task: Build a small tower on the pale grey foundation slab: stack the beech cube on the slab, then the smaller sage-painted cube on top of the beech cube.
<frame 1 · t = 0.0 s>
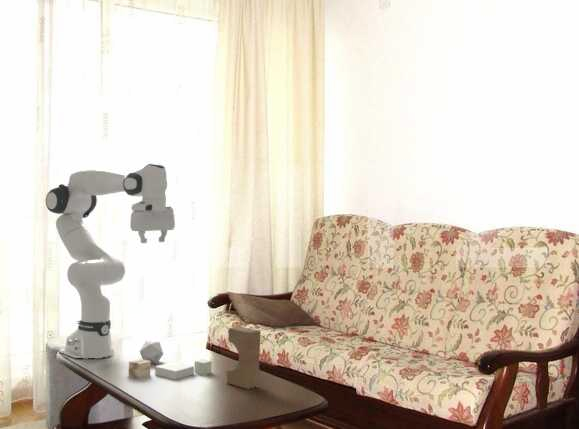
hand: (152, 242, 275), 48 cm above the table, fingers open, 8 cm apart
sage cube: (202, 372, 274), on the table
die: (151, 362, 286), on the table
foundation slab: (174, 374, 270), on the table
beech cube: (139, 376, 266), on the table
decorative block: (242, 385, 259), on the table
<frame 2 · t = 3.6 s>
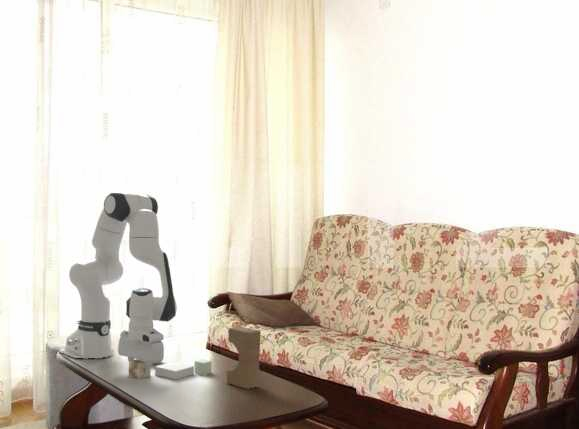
hand: (139, 371, 266), 2 cm above the table, fingers closed on beech cube, 5 cm apart
beech cube: (139, 375, 266), on the table, touching gripper
everything else where it was.
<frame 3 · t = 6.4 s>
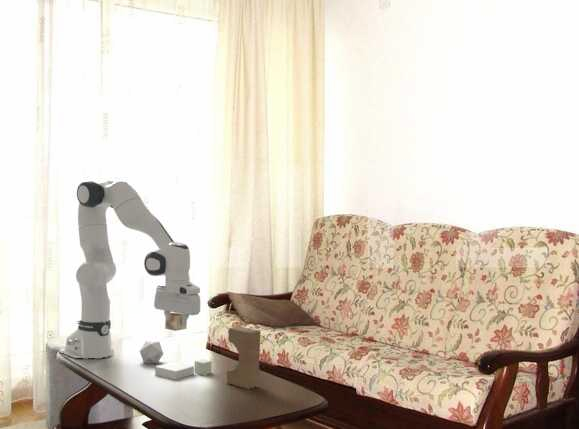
hand: (176, 324, 269), 19 cm above the table, fingers closed on beech cube, 5 cm apart
beech cube: (175, 328, 269), point 17 cm above the table, touching gripper
everything else where it was.
when the fingers open (5 cm above the table, at t = 9.2 s): beech cube stays where it is, resting on foundation slab.
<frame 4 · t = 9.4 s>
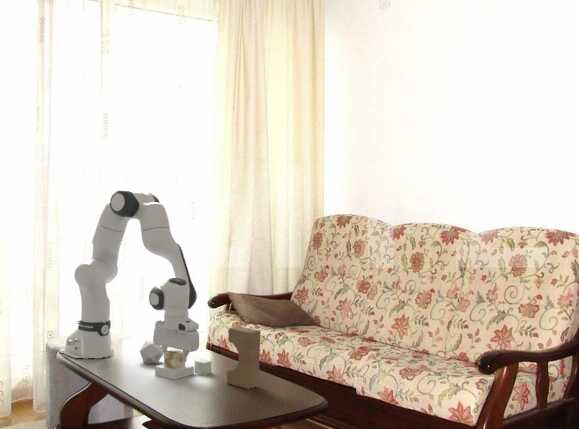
hand: (174, 359, 270), 5 cm above the table, fingers open, 7 cm apart
beech cube: (174, 366, 270), point 3 cm above the table, touching foundation slab
everything else where it was.
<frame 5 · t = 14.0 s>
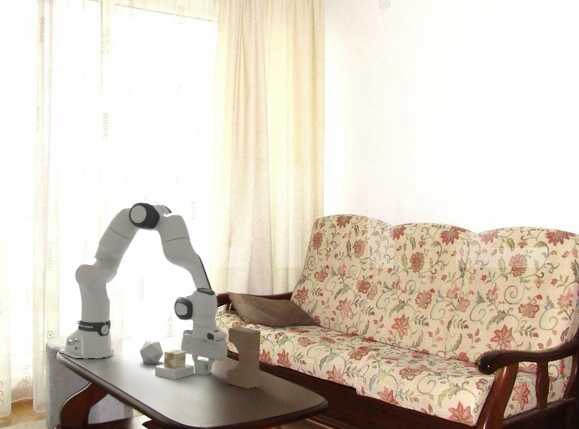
hand: (203, 368, 274), 2 cm above the table, fingers closed on sage cube, 4 cm apart
sage cube: (202, 372, 274), on the table, touching gripper
everything else where it was.
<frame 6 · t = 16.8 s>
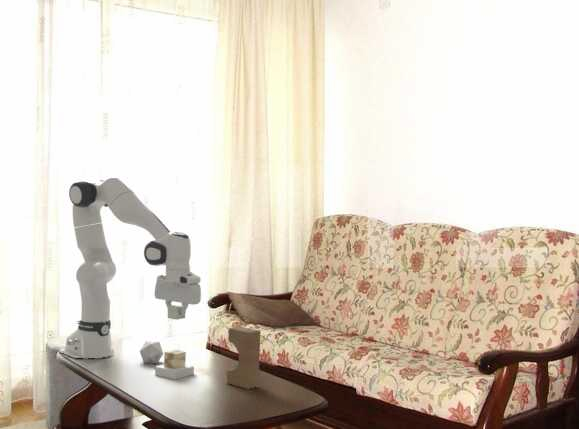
hand: (176, 313, 269), 23 cm above the table, fingers closed on sage cube, 4 cm apart
sage cube: (176, 318, 269), point 21 cm above the table, touching gripper
everything else where it was.
when the fingers open (11 cm above the table, at t = 19.8 s): sage cube stays where it is, resting on beech cube.
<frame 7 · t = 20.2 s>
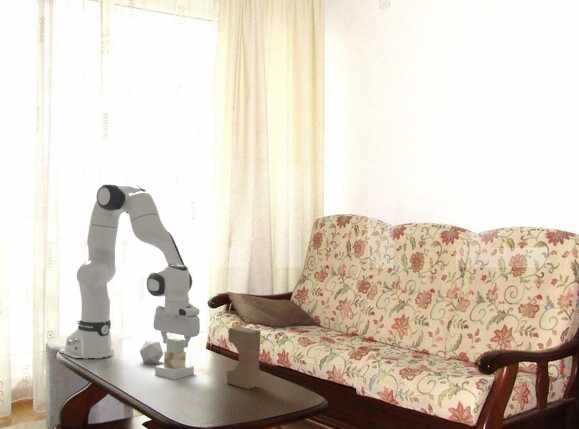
hand: (175, 345, 269), 11 cm above the table, fingers open, 8 cm apart
sage cube: (175, 351, 269), point 8 cm above the table, touching beech cube
beech cube: (174, 366, 270), point 3 cm above the table, touching foundation slab, sage cube
everything else where it was.
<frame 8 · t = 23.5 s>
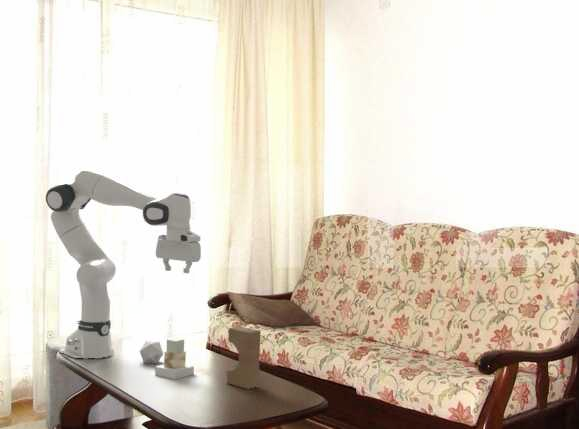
hand: (177, 271, 277), 37 cm above the table, fingers open, 8 cm apart
nothing on the table moved.
at the end: beech cube inside the target area on the foundation slab (0.0 cm from its centre), point 3.0 cm above the foundation slab's base; sage cube 0.0 cm off-centre on the beech cube, point 5.5 cm above the beech cube's base; sage cube tilted 0° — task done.
